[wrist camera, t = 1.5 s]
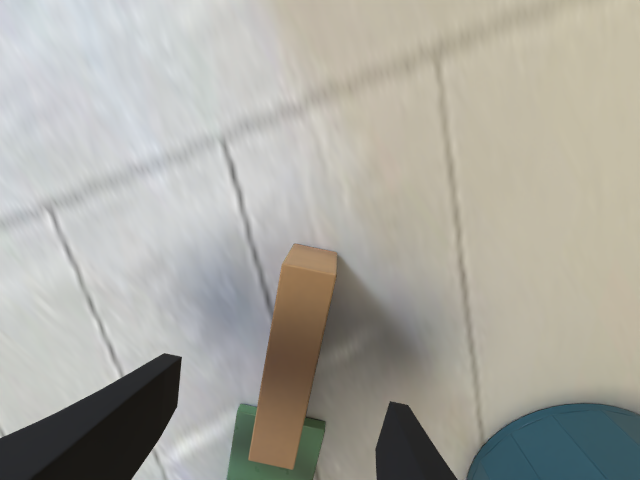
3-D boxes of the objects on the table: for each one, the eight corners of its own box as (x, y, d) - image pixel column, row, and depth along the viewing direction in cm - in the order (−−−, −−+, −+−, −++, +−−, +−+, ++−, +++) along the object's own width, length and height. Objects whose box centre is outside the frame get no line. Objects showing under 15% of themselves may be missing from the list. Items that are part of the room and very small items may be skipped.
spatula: (306, 499, 19) (300, 564, 16) (228, 481, 19) (206, 544, 16) (365, 257, 15) (372, 281, 12) (266, 237, 15) (246, 256, 12)
